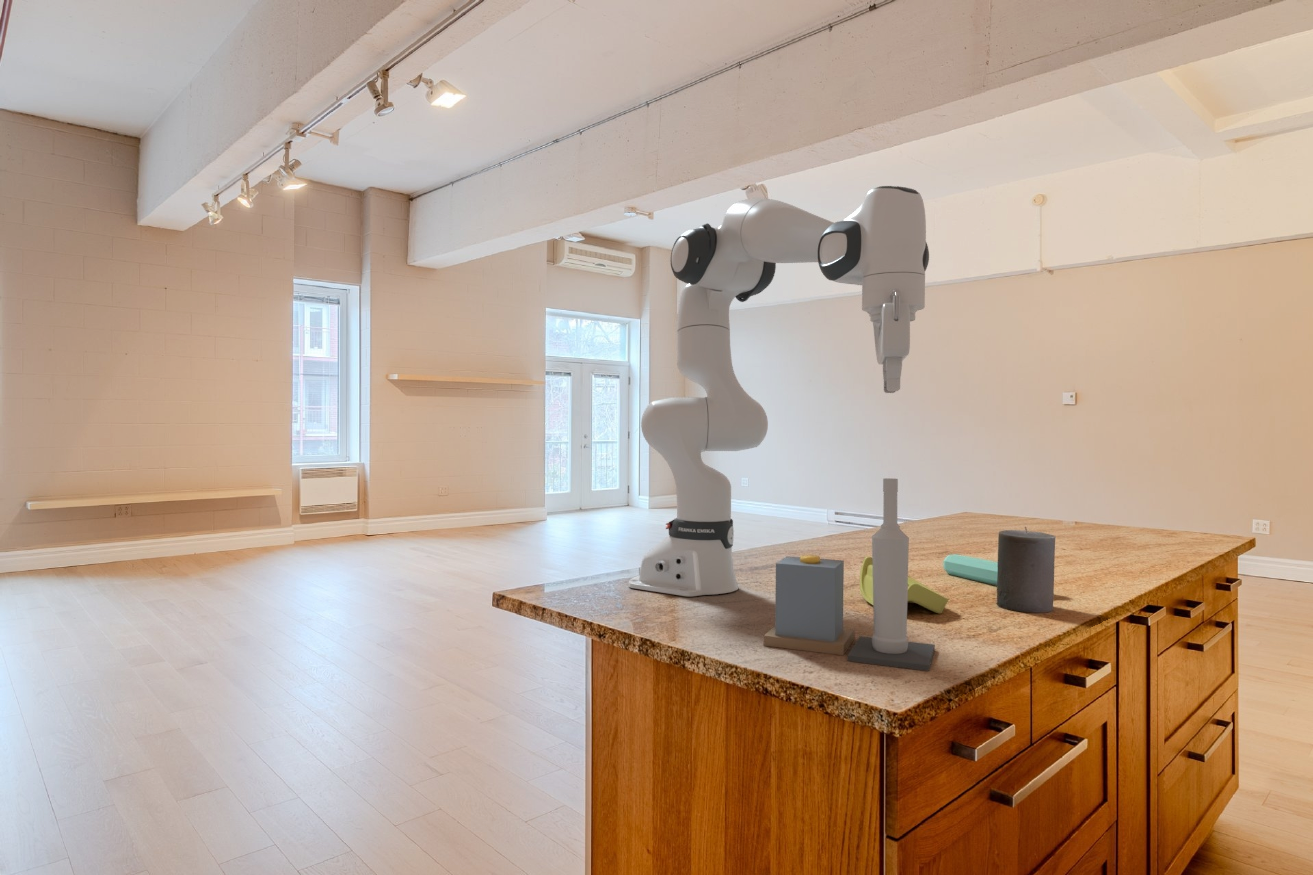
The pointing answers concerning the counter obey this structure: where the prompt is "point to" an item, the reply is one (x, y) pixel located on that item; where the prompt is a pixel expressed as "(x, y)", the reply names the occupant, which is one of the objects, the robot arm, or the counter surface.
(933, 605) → the plastic component
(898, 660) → the pad
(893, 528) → the bottle
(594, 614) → the counter surface
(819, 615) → the mounted unit
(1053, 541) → the pillar candle
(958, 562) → the mint green rod
